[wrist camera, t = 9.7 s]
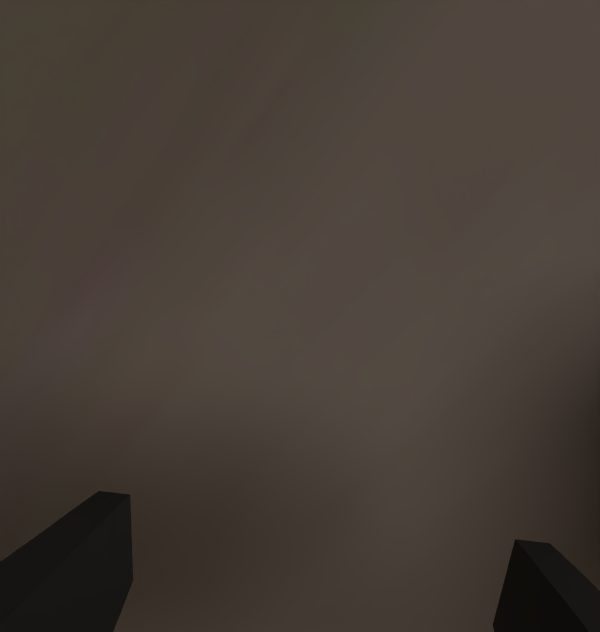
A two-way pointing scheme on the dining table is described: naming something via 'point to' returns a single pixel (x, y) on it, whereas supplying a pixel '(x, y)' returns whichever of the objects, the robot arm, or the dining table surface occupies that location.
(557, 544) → the dining table surface
